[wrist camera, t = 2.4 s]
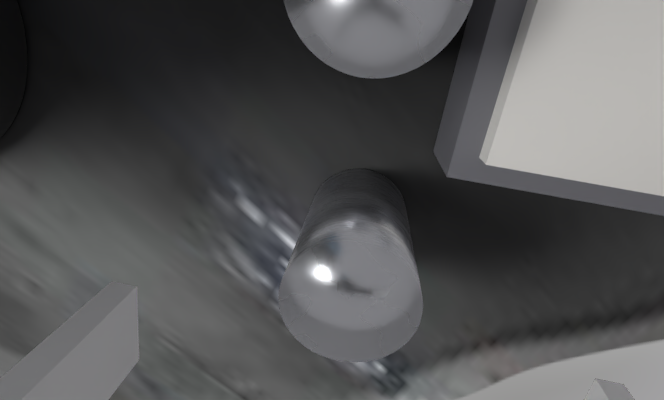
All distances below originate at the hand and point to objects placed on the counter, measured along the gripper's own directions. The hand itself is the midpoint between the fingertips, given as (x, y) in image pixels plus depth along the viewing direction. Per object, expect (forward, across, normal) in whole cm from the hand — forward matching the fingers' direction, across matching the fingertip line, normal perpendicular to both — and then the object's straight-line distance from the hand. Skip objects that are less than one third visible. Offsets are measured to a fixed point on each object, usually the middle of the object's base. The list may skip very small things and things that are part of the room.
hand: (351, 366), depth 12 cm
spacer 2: (+10, 0, 0) cm, 11 cm away
